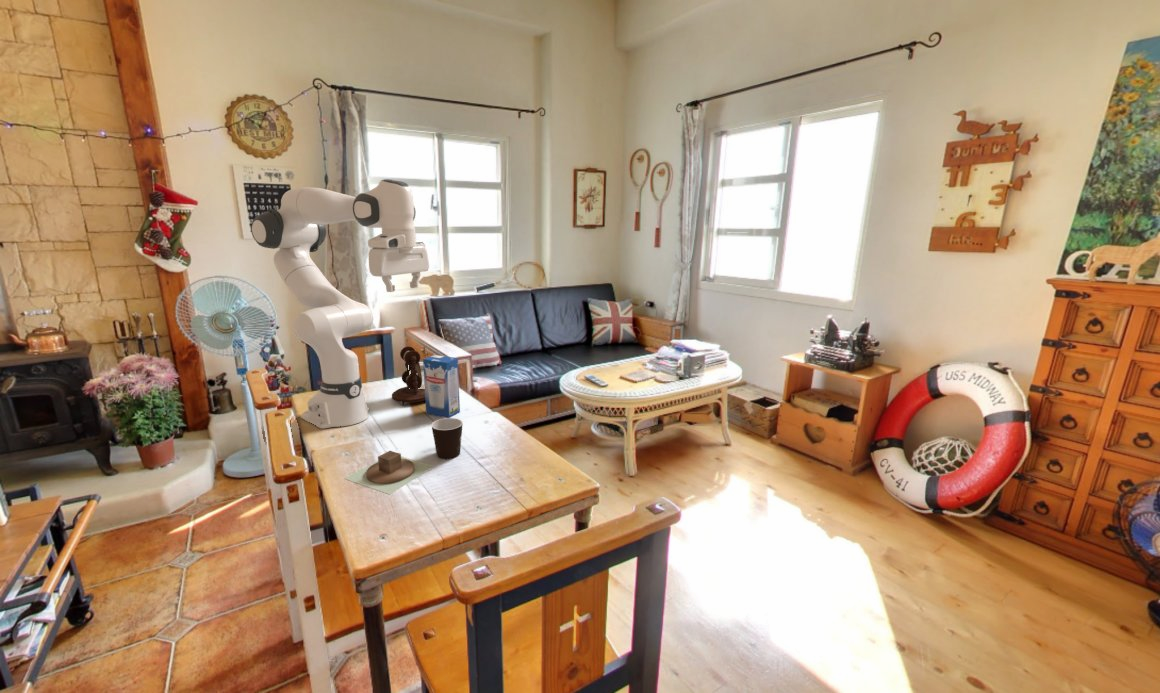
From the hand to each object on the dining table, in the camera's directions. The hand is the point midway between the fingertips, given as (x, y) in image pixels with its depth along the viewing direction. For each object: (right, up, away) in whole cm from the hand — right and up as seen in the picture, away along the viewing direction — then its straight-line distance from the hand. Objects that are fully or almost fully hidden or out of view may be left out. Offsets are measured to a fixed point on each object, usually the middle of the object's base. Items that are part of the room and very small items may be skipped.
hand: (402, 289), depth 139 cm
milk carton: (+2, -40, +33) cm, 52 cm away
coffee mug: (+13, -48, +3) cm, 50 cm away
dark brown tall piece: (-13, -37, +45) cm, 59 cm away
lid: (0, -50, -10) cm, 51 cm away
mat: (0, -51, -10) cm, 51 cm away
